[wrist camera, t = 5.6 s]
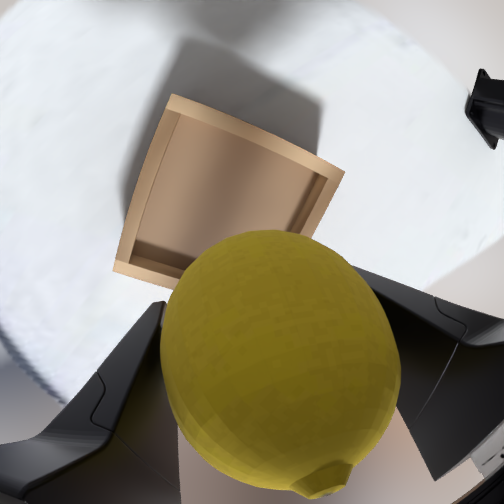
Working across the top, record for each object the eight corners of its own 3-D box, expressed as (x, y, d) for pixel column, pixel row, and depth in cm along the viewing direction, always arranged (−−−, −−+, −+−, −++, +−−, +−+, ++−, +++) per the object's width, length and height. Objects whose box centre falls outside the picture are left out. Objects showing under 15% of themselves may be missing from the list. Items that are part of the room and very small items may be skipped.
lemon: (211, 165, 9) (297, 397, 2) (344, 236, 11) (497, 395, 4) (146, 302, 10) (131, 524, 3) (270, 341, 12) (333, 513, 5)
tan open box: (316, 159, 19) (345, 171, 15) (255, 281, 22) (268, 314, 19) (176, 98, 16) (171, 93, 12) (125, 240, 19) (112, 271, 15)
